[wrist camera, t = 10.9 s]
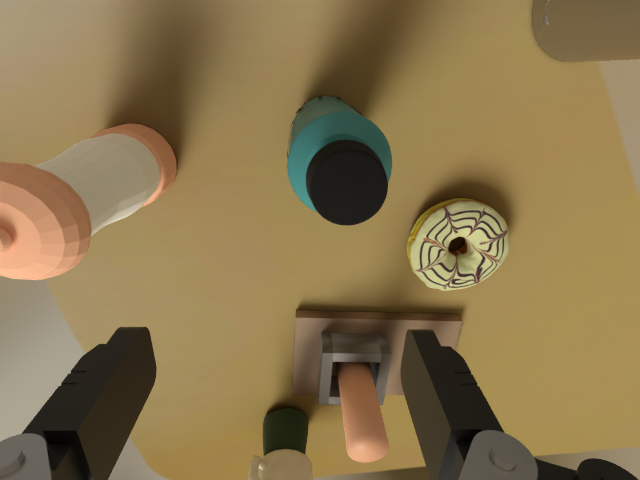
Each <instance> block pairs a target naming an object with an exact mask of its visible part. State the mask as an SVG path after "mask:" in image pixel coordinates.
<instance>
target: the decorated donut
mask: <svg viewBox="0 0 640 480" xmlns="http://www.w3.org/2000/svg"><path fill="white" fill-rule="evenodd" d="M456 237H464V239H465V243H464V246H463V247H462V248H460V249H459V250H456V251H453V252H451V251H448V248H449V244H450V242H451V240H453V239H454V238H456ZM509 249H510V237H509V230H508V227H507V225H506V222H505V220H504V219H503V217H502V216H500V215H499V214H498V213H497V212H496V211H495V210H494V209H493V208H491V207H490V206H488V205H486V204H484V203H482V202H479V201H475V200H473V199H465V198H457V199H450V200H447V201H443V202H441V203H438V204H436V205H434V206H432V207H431V208H429V209H428V210H427V211H425V212H424V213H423V214H422V215H421V216H420V217H419V219H418V220H417V222H416V223H415V225H414V227H413V229H412V230H411V233H410V236H409V238H408V241H407V255H408V258H409V264H410V266H411V269H412V271H413V272H414V273H415V274H416V275H417V276H418V277H419V278H420V279H421V280H422V281H423V282H424V283H425V284H426V286H428V287H430V288H434V289H440V290H441V291H448V290H457V289H463V288H467V287H470V286H473V285H475V284H478V283H480V282H481V281H483V280H485V279H486V278H488V277H489V276H491V275H492V274H493V273H494V272H495V271H496V270H497V268H498V267H499V266H500V265H501V264H502V263H503V261H504V259H505V258H506V255H507V253H508V252H509Z"/></svg>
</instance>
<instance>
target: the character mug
mask: <svg viewBox="0 0 640 480" xmlns="http://www.w3.org/2000/svg"><path fill="white" fill-rule="evenodd" d="M307 436H308V420H307V417H306V415H304V414H303V413H302V412H301V411H300V410H295V409H291V408H288V409H280V410H277V411H274V412H272V413H270V414H269V415H267V416H266V417H265V418H264V422H263V451H264V457H263V458H261V457H259V456H253V457H252V460H251V463H250V471H249V480H313V473H312V465H311V461H310V460H309V458H308V457H307V456H306V455H305V451H306V443H307Z"/></svg>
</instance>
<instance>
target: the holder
mask: <svg viewBox="0 0 640 480" xmlns="http://www.w3.org/2000/svg"><path fill="white" fill-rule="evenodd" d="M462 322H463V321H462V320H461V318H460V317H459V315H458V314H435V313H394V312H353V311H312V310H296V321H295V344H294V367H293V393H292V394H318V404H327V405H341V399H340V391H339V383H338V374H337V366H336V362H369V364H370V368H371V372H372V376H373V381H374V385H375V389H376V393H377V397H378V401H379V405H383V402H384V396H385V395H404V391H403V388H402V384H401V376H400V368H401V361H402V355H403V349H404V343H405V337H406V332H407V330H408V329H431V330H433V331H434V333H435V335H436V337H437V339H438V341H439V343H440V345H441V346H451V347H452V348H453V349H454V350H455V348H456V344H457V340H458V337H459V333H460V329H461V325H462Z"/></svg>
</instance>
